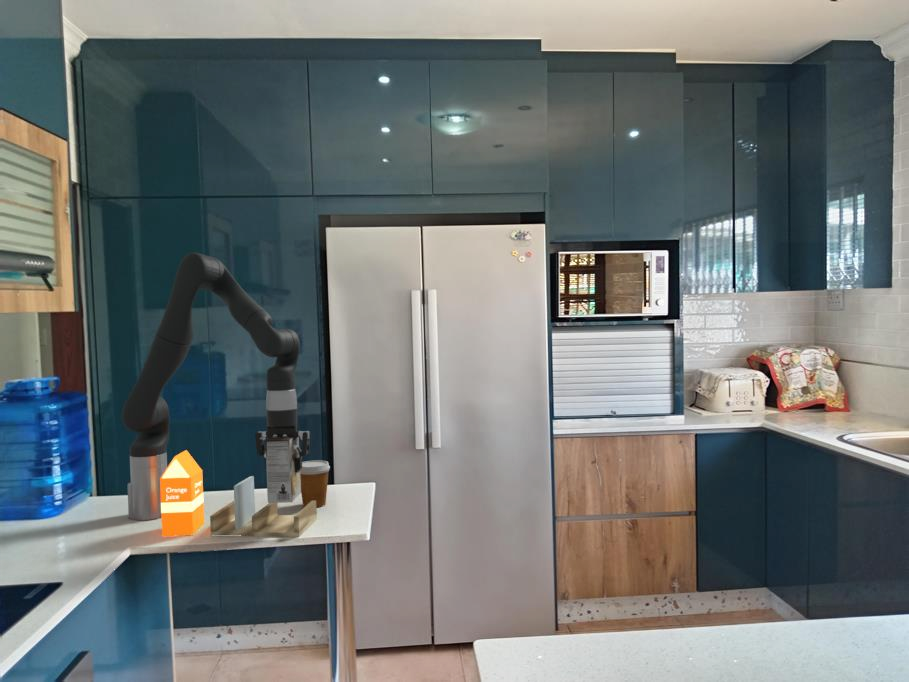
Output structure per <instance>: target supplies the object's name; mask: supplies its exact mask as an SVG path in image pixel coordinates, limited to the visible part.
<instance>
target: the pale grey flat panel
mask: <svg viewBox="0 0 909 682" xmlns="http://www.w3.org/2000/svg"><path fill="white" fill-rule="evenodd" d="M255 497H256V496H255V476H254V475H250V476H248V477H246V478H245V479H242V480H241V481H240V482H238V483H237V484H235V485H234V486H233V499H234V500H233V501H234V507H235V530H239V529H241V528H242V527H243V526H244V525H246V524H247V523H248V522H250V521H251V520H252V516H253V515H254V514H255V513H256V503H255Z"/></svg>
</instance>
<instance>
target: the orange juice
mask: <svg viewBox="0 0 909 682" xmlns="http://www.w3.org/2000/svg"><path fill="white" fill-rule="evenodd" d="M203 482H204V481H203V469H202V468H201V467H200V466H199V464H198V463H197V462H196V461H195V459H194V458H193V456H191V454H190V453H189V451H188V450H187V449H186V450H184V451H181V452H180V453H179V454H176V455H174V457H173V458H172V460H171V462H170V463H169V464H168V465H167V469H166V471H165V472H164V474H163V475H162V477H161V478H160V491H161V516H162V517H161V537H162V536H170V537H175V536H174V535H191V534H192V535H193V534H194V533H195V532H196V531H197V530H198V529H199V528H200V527H201V526H202V525H203V524H204V525H205V512H204V511H205V509H204V508H205V507H204V506H205V505H204V501H205V500H204V485H203V484H204V483H203ZM204 525H203V526H204ZM203 526H202V527H203ZM202 527H201V528H202ZM201 528H200V529H201ZM200 529H199V530H200ZM199 530H198V531H199ZM198 531H197V532H198ZM197 532H196V533H197ZM196 533H195V534H196ZM195 534H194V535H195ZM194 535H193V536H194Z"/></svg>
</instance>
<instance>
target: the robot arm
mask: <svg viewBox="0 0 909 682" xmlns="http://www.w3.org/2000/svg"><path fill="white" fill-rule="evenodd" d="M199 290H203V291H210V292H211V293H213V294H215V295H216V296H218V297H219V298H221V300H223V302H224V303H225V304H226V306H227V308H228V310H229V313H230V315H231V317H232V318H233V319H234V321H236V322H237V324H238V325H240V326H241V327H242V328H243V329H244V330H245V331H246V332H247V333H249V335H250V337H251V339H252V341H253V342H254V344H255V346H256V347H257V349H258V350H259V352H261V354H263V355H265V356H267V357H269V358H276V360H275V363H274V365H273V366H271V367H269V368H268V369H267V370H266V400H265V401H266V427H267V429H266V430H265V431H262V430H259V431H257V432H255V433H254V436H255V446H256V454H257V456H259V457H263V458H264V466H265V467H264V468H265V471H267V469H266V443H265V440H266V437H267V439H268V438H270V437H272V438H276V437H283V438H288V437H293V438H294V440H296V438H297V437H298V436H299V440H301V442H302V443H301V448H300V444H299V445H298V443H297V442H296V445H295V446H294V445H293V449H294V456H295V458H294V463H295V473H298V472H299V471H300V470H301V469H302V462H303V457H304V456H307V455H308V454H310V446H311V443H310V442H311V431H310V430H306V431H305V430H304V431H302V430H300V429H299V428H298V398H297V391H296V374H295V372H296V369H297V366H298V360H299V355H300V350H301V349H300V348H301V343H300V338H299V335H298V334H297V332H296V331H294V330H292V329H290V328H275V327H273V324H274V321H273V318H272V316H271V315H270V314H269V313H268V311H266V309H264V308H263V307H262V306H260V305H259V304H258V303H257V302H256V301H255V300H254V299H253V298H252V297H251V296H250V295H249V294H248V293H247V292H246V291H245V290H244V289H243V288H242V287H241V285H240V284H239V283H238V282H237V280H236V279H235V278H234V277H233V275H232V274H231V272H230V271H229V269H228V268H227V266H225V264H224V263H223V262H222V261H221V260H219V259H218V258H216V257H213V256H209V255H206V254H202V253H199V252H190V253H188V254H185V256H184V257H182V259H181V261H180V263H179V264H178V268H177V271H176V274H175V278H174V282H173V286H172V289H171V293H170V296H169V299H168V302H167V305H166V308H165V309H164V310H165V311H164V312H163V316H162V319H161V321H160V323H159V325H158V328H157V330H156V333H155V335H154V337H153V341H152V343H151V345H150V349H149V352H148V354H147V356H146V359H145V361H144V363H143V366H142V369H141V371H140V374H139V376H138V378H137V381H136V382H135V384H134V385H133V388H132V390H131V391H130V394H129V395H128V396H127V398H126V399H127V400H126V401H125V403H124V405H123V408H122V411H121V421H122V423H123V426H124V427H125V428H126V429H127V430H129V431H131V432H136V433H137V435H136V437H135V440H134V441H133V442H132V443H131V444H130V445H129V450H128V451H129V467H130V468H129V471H130V474H129V475H130V482H128V483H127V504H128V505H127V506H128V509H127V510H128V519H132V520H135V521H151V520H157V519H160V518H162V516H161V491H160V478H161V477H162V475H163V474H164V472H165V471H166V469H167V467H168V454H167V446H168V444H169V440H170V408H169V406H168V403H167V402H166V400H165V399H164V398H163V397H162V396H161V393H162V392H163V390H164V387H166V385H167V384H168V382H169V381H170V379H171V378H172V377H173V376H174V375H175V373H176V372H177V371H178V369H179V368H180V367H181V366H182V365H183V363H184V361H185V359H186V358H187V356H188V353H189V351H190V348H191V346H192V343H193V340H194V337H195V336H194V335H195V333H194V330H195V329H194V323H193V322H194V321H193V315H192V314H193V313H192V310H193V305H194V301H195V299H196V296H197V294H198V292H199ZM150 519H151V520H150Z"/></svg>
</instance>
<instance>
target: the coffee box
mask: <svg viewBox="0 0 909 682" xmlns="http://www.w3.org/2000/svg"><path fill="white" fill-rule="evenodd" d="M296 442H297V443H298V445H299V446H300V436H298V437H297V438H296V440H294V438H293V437H288V438H283V437H276V438H272V437H270V438H268V437H267V439H266V438H265V439H264V444H265V451H266V469H267V470H266V469H265V470H266V489H267V490H266V491H267V503H268V504H269V503H277V504H278V503H293V501H295V499H297V498H298V496H300V494H301V476H300V471H299V472H298V473H295V463H294V458H295V456H294V449H293V445H294V446H295V445H296Z"/></svg>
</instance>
